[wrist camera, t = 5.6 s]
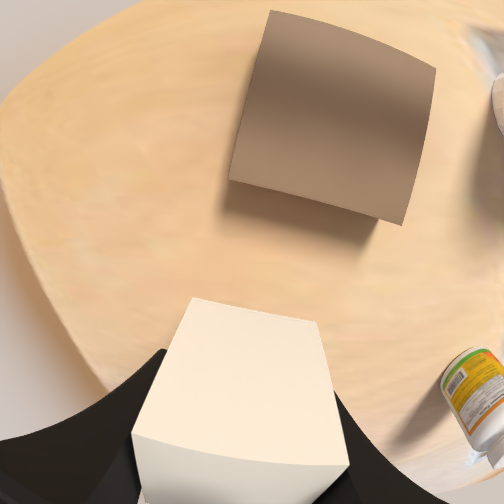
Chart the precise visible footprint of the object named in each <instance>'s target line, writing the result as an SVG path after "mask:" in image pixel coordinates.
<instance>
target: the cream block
mask: <svg viewBox="0 0 504 504" xmlns="http://www.w3.org/2000/svg"><path fill="white" fill-rule="evenodd" d="M131 434H132V441H133V446H134V452H135V457H136V463H137V468H138V472H139V477H140V482H141V486H142V490H143V494H144V498H145V502H147V503H150V504H312V503H313V502H314V501H315V500H316V499H317V498H318V497H319V496H320V495H321V494H322V493H323V492H324V491H325V490H326V489H327V488H328V487H329V486H330V485H331V484H332V483H333V482H334V481H335V480H336V479H337V478H338V477H339V476H340V475H341V474H342V473H343V472H344V471H345V470H346V468H347V467H348V466H349V465H350V464H349V459H348V454H347V449H346V444H345V440H344V435H343V430H342V426H341V421H340V417H339V412H338V408H337V403H336V399H335V395H334V391H333V386H332V382H331V378H330V374H329V370H328V366H327V362H326V358H325V354H324V350H323V346H322V342H321V338H320V334H319V331H318V327H317V323H316V322H314V321H308V320H303V319H297V318H291V317H286V316H281V315H275V314H270V313H265V312H260V311H255V310H250V309H245V308H240V307H235V306H230V305H226V304H221V303H216V302H212V301H207V300H203V299H198V298H194V297H193V298H192V300H191V302H190V304H189V306H188V308H187V310H186V312H185V314H184V316H183V318H182V321H181V323H180V325H179V327H178V329H177V331H176V333H175V335H174V338H173V340H172V342H171V344H170V346H169V348H168V351H167V353H166V355H165V357H164V359H163V362H162V364H161V366H160V368H159V370H158V373H157V375H156V377H155V379H154V381H153V384H152V386H151V388H150V390H149V393H148V395H147V397H146V399H145V402H144V404H143V406H142V409H141V411H140V413H139V416H138V418H137V420H136V423H135V425H134V427H133V430H132V432H131Z"/></svg>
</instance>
